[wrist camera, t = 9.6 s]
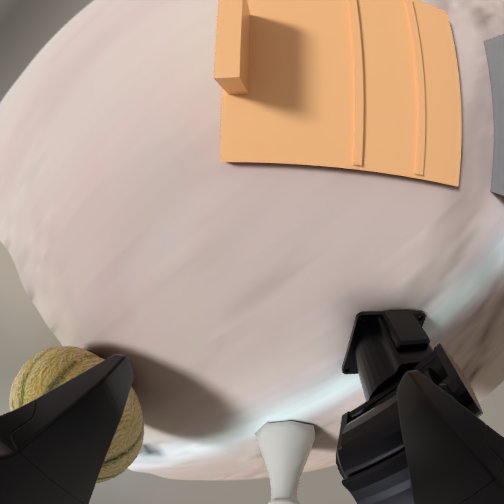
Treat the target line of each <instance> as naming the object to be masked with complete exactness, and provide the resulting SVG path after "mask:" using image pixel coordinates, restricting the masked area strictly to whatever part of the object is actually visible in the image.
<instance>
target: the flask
mask: <svg viewBox="0 0 504 504" xmlns="http://www.w3.org/2000/svg"><path fill="white" fill-rule="evenodd" d="M255 436H256V439H257V442H258V445H259V448H260V450H261V453H262V456H263V459H264V462H265V465H266V468H267V471H268V474H269V477H270V483H271V490H272V491H271V501H269V503H268V504H299V501H298V500H297V489H298V485H299V480H300V476H301V474H302V471H303V469H304V466H305V463H306V461H307V458H308V456H309V453H310V451H311V448H312V446H313V443H314V440H315V437H316V436H315V430H314V425H309V424H304V423H299V422H295V421H284V422H275V423H265V424H264V425H263V426H262V427H261V428H260V429H259V430H258V431H257V432H256V433H255Z"/></svg>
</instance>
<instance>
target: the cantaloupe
mask: <svg viewBox="0 0 504 504" xmlns="http://www.w3.org/2000/svg"><path fill="white" fill-rule="evenodd" d="M104 360H105V359H103V358H100V357H98V356H97V355H95V354H93V353H91V352H89V351H87V350H84V349H81V348H77V347H66V346H63V347H55V348H49V349H46V350H43V351H41V352H40V353H38V354H37V355H35V356H34V357H32V358H31V359H29V361H28V362H26V363H25V364H24V365H23V366H22V367H21V370H20V372H19V373H18V375H17V376H16V378H15V380H14V382H13V384H12V387H11V393H10V400H9V403H10V411H13V410H15V409H17V408H19V407H21V406H23V405H25V404H27V403H29V402H31V401H33V400H35V399H37V398H38V397H40V396H42V395H44V394H46V393H47V392H49V391H51V390H53V389H55V388H56V387H58V386H60V385H62V384H63V383H65V382H67V381H69V380H71V379H72V378H74V377H76V376H78V375H79V374H81V373H83V372H85V371H86V370H88V369H90V368H92V367H93V366H95V365H97V364H99V363H100V362H102V361H104ZM143 436H144V424H143V414H142V409H141V405H140V403H139V399H138V397H137V394H136V393H135V391H134V389H133V388H132V386H131V389H130V392H129V395H128V399H127V402H126V405H125V409H124V412H123V415H122V418H121V420H120V423H119V425H118V428H117V430H116V432H115V435H114V437H113V440H112V442H111V445H110V447H109V450H108V452H107V455H106V457H105V460H104V463H103V465H102V468H101V470H100V473H99V476H98V479H97V481H96V483H100V482H103V481H107V480H109V479H111V478H114V477H116V476H118V475H119V474H121V473H122V472H124V471H125V469H126V468H128V466H130V465H131V464H132V463H133V461H134V460H135V458H136V457H137V455H138V453H139V450H140V449H141V446H142V441H143Z"/></svg>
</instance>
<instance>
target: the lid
mask: <svg viewBox="0 0 504 504" xmlns="http://www.w3.org/2000/svg"><path fill="white" fill-rule="evenodd" d="M214 79H215V80H216V81H217V82H218V83H219V85H220V86H221V87H222V104H221V162H259V163H284V164H301V165H315V166H327V167H338V168H347V169H356V170H365V171H372V172H380V173H387V174H393V175H400V176H406V177H412V178H418V179H423V180H428V181H434V182H439V183H443V184H448V185H453V186H457V187H458V185H459V174H460V162H461V138H462V117H461V95H460V82H459V73H458V65H457V58H456V51H455V46H454V40H453V35H452V30H451V26H450V22H449V18H448V14H447V13H446V12H444V11H442V10H440V9H438V8H435V7H433V6H431V5H428V4H426V3H423V2H421V1H418V0H219V2H218V15H217V29H216V44H215V63H214Z"/></svg>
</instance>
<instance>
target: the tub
mask: <svg viewBox="0 0 504 504" xmlns="http://www.w3.org/2000/svg"><path fill="white" fill-rule="evenodd" d="M484 45H485V49H486V54H487V60H488V66H489V72H490V79H491V88H492V98H493V113H494V157H493V173H492V184H491V192H494V193H497V194H500V195H503V196H504V34H503V35H500V36H497V37H494V38H491V39H489V40H486V41H484Z"/></svg>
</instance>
